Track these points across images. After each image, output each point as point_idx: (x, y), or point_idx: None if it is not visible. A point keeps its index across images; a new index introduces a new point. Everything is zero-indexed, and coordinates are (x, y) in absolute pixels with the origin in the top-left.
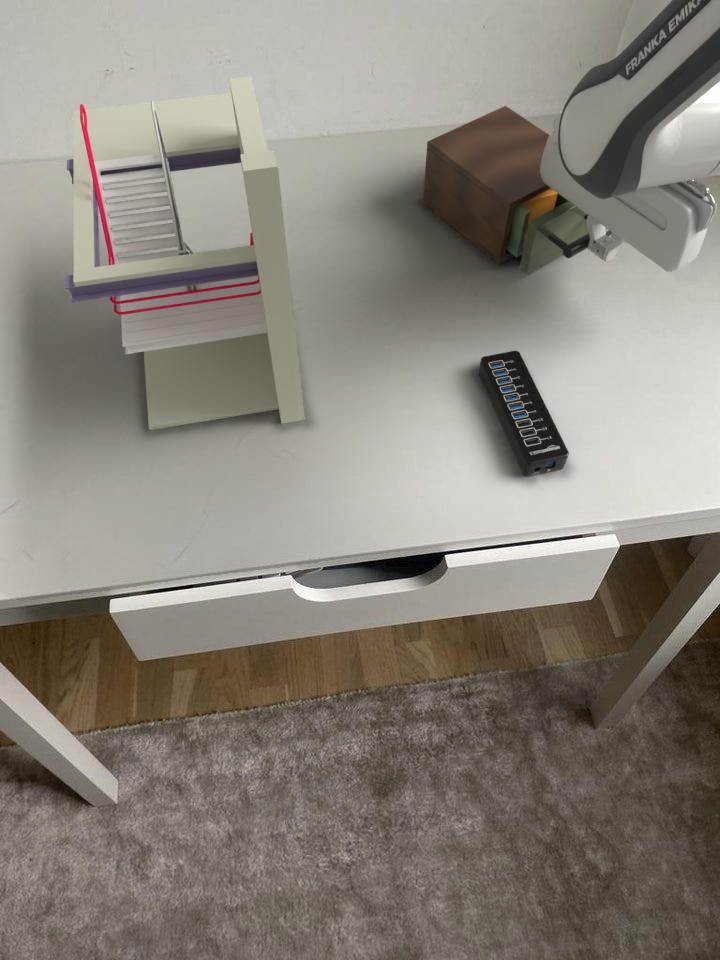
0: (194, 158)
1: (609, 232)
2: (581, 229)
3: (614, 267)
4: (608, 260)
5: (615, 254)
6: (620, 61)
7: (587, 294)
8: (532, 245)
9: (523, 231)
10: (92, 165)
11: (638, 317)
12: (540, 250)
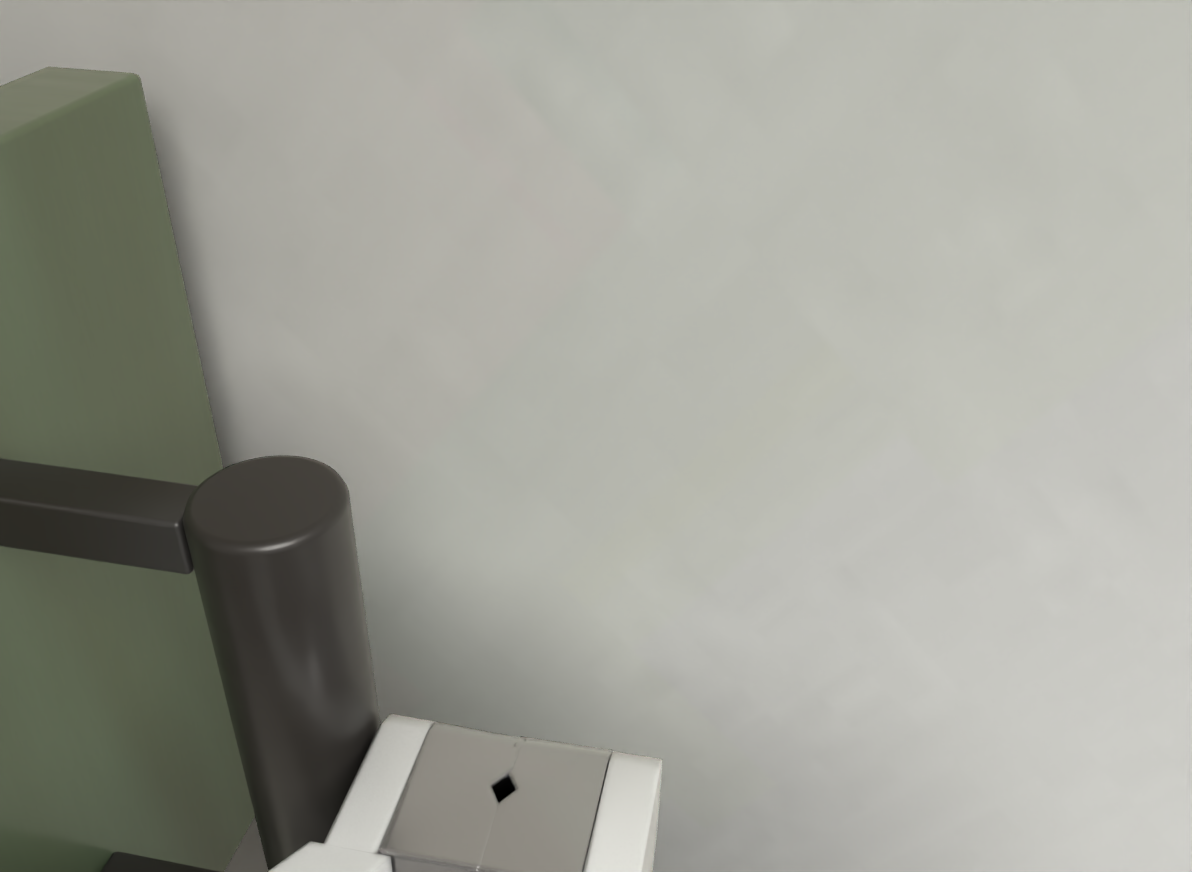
0: None
1: (337, 607)
2: (78, 421)
3: (575, 175)
4: (656, 830)
5: (657, 798)
6: None
7: (661, 577)
8: None
9: None
10: None
11: (1145, 526)
12: (185, 835)
